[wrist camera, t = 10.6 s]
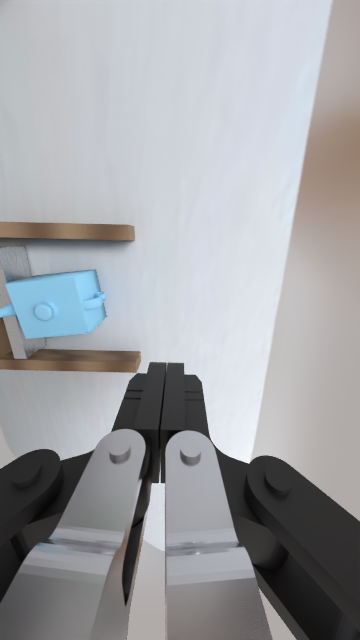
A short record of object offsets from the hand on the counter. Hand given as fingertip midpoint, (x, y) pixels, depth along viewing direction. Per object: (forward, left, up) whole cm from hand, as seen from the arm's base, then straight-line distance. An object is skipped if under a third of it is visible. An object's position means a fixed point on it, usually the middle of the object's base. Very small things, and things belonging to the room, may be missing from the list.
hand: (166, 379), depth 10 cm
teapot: (-14, -1, -19) cm, 24 cm away
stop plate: (-19, -2, -19) cm, 27 cm away
